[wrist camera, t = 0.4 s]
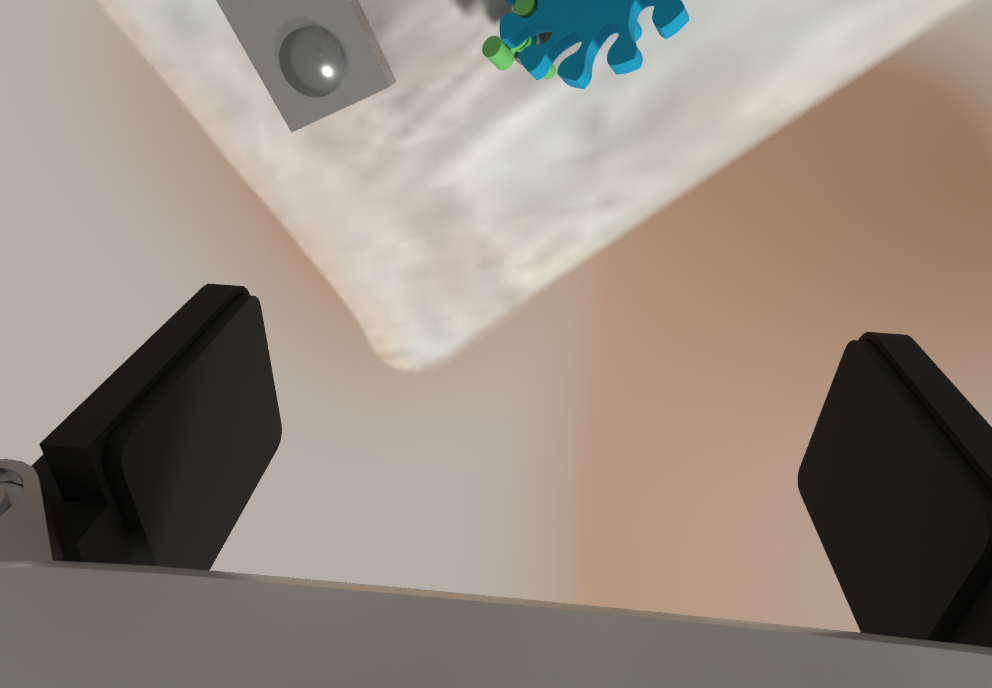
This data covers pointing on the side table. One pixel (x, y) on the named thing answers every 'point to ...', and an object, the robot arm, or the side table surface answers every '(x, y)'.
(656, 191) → the side table surface
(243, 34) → the gray studded rail
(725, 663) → the robot arm
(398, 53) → the side table surface
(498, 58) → the gear
